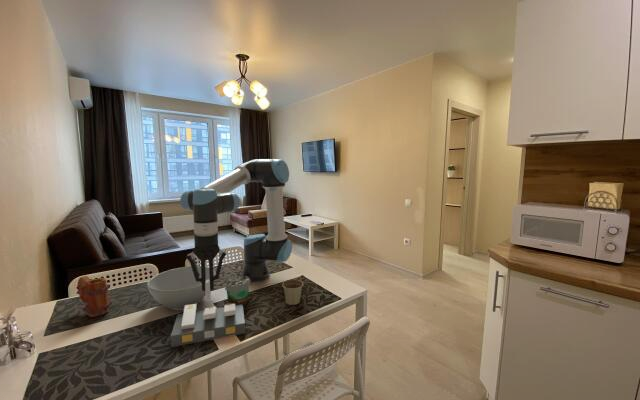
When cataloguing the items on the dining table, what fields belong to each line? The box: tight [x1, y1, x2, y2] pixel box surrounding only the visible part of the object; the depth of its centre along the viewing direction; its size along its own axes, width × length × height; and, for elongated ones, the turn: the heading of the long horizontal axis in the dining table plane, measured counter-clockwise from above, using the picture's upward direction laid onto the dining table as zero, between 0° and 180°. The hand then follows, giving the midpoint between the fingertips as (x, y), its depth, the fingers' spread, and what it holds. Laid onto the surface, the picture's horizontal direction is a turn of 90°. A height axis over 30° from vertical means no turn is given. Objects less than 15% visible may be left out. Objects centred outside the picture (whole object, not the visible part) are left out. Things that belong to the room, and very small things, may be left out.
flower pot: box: [281, 279, 304, 306], centre depth 120 cm, size 9×9×9 cm
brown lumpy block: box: [76, 275, 113, 318], centre depth 109 cm, size 15×8×15 cm, turn 71°
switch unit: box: [170, 304, 246, 348], centre depth 100 cm, size 14×24×5 cm, turn 109°
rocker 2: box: [203, 306, 217, 320], centre depth 99 cm, size 10×4×2 cm, turn 19°
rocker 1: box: [181, 304, 198, 329], centre depth 97 cm, size 10×4×2 cm, turn 19°
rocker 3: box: [224, 304, 236, 316], centre depth 102 cm, size 10×4×2 cm, turn 19°
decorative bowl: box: [146, 265, 216, 311], centre depth 118 cm, size 27×27×12 cm
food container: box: [224, 276, 252, 306], centre depth 118 cm, size 12×6×10 cm, turn 148°
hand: (208, 298), depth 95 cm, fingers closed
